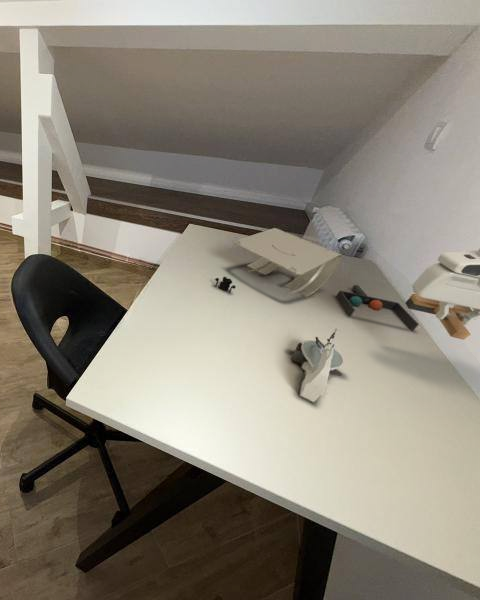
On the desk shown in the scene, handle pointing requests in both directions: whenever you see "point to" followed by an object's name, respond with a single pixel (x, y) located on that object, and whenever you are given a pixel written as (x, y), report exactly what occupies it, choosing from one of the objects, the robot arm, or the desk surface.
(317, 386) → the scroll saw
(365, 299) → the dark flat angular piece
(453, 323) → the wooden t-shaped block
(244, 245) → the laptop stand
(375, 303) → the terracotta ball
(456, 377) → the desk surface
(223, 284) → the wireless earbuds
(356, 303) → the teal ball
